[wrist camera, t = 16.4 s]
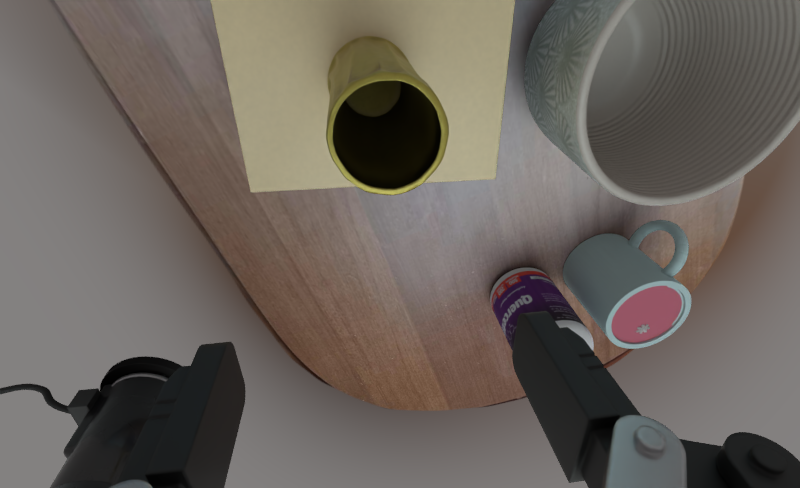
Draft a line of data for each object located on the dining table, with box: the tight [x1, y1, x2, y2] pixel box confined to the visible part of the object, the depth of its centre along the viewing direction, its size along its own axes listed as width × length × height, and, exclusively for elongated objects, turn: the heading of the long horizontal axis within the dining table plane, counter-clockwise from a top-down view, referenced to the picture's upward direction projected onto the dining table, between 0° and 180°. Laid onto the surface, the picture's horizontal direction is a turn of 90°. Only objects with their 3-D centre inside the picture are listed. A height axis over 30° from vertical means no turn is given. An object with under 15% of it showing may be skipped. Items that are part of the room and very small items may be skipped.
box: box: [210, 0, 515, 192], centre depth 33 cm, size 20×16×9 cm
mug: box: [563, 220, 691, 349], centre depth 47 cm, size 14×9×10 cm
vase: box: [326, 36, 449, 195], centre depth 23 cm, size 6×6×14 cm
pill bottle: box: [490, 268, 594, 351], centre depth 46 cm, size 8×8×14 cm
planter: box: [524, 0, 800, 206], centre depth 33 cm, size 17×17×15 cm
